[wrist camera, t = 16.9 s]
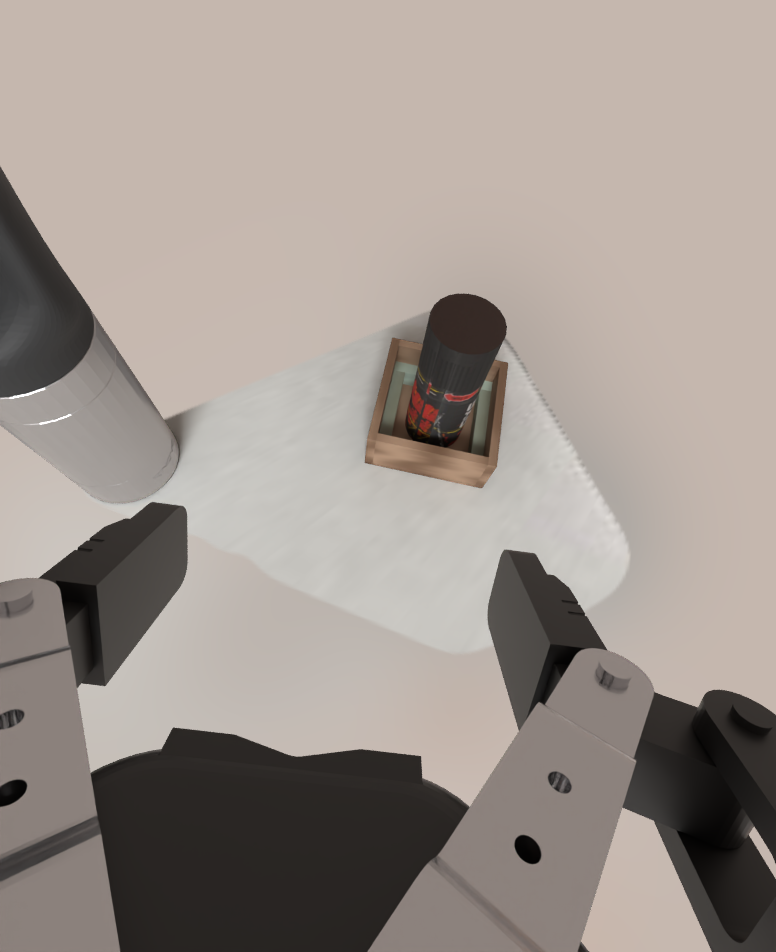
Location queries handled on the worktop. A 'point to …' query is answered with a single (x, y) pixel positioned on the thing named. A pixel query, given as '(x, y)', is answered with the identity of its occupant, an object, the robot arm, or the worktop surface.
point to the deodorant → (453, 366)
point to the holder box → (455, 463)
